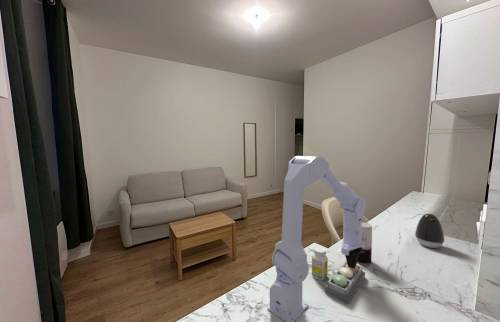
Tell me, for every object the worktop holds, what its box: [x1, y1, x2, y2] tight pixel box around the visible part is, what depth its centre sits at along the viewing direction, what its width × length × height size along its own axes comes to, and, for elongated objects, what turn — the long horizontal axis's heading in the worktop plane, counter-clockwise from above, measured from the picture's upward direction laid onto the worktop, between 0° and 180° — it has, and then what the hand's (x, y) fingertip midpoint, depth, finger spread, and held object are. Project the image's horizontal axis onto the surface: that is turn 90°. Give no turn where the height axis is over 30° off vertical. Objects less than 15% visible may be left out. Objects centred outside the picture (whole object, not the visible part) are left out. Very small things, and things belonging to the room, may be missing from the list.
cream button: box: [339, 266, 353, 279], centre depth 66 cm, size 4×4×2 cm
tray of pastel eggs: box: [324, 260, 366, 305], centre depth 66 cm, size 17×7×4 cm, turn 136°
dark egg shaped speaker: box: [414, 213, 445, 249], centre depth 93 cm, size 10×10×15 cm
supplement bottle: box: [311, 246, 329, 281], centre depth 71 cm, size 5×5×10 cm
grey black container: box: [357, 221, 373, 265], centre depth 81 cm, size 7×6×15 cm
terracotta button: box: [345, 264, 358, 273], centre depth 70 cm, size 4×4×2 cm
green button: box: [332, 273, 347, 287], centre depth 62 cm, size 4×4×2 cm
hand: (351, 267), depth 70 cm, fingers closed, pressing on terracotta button
